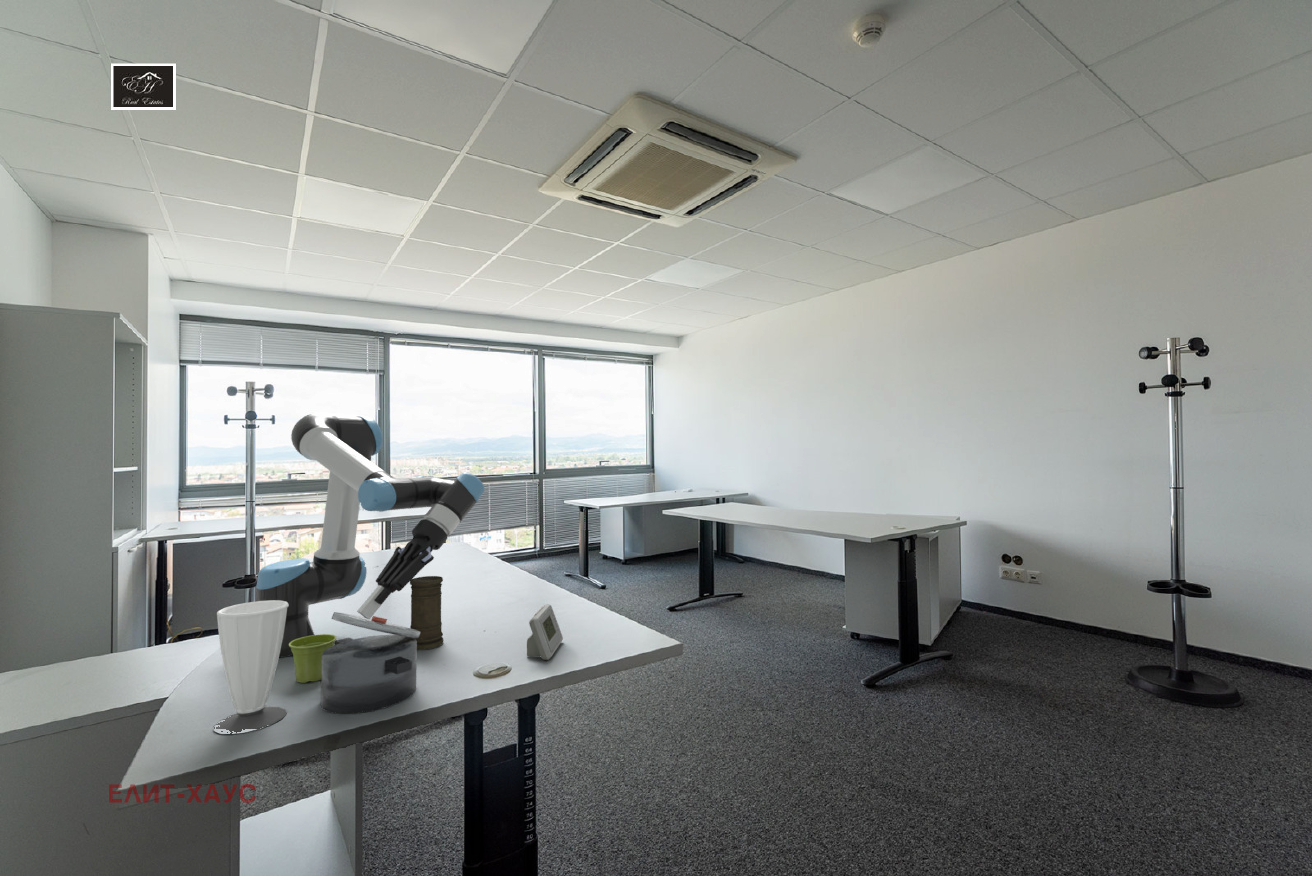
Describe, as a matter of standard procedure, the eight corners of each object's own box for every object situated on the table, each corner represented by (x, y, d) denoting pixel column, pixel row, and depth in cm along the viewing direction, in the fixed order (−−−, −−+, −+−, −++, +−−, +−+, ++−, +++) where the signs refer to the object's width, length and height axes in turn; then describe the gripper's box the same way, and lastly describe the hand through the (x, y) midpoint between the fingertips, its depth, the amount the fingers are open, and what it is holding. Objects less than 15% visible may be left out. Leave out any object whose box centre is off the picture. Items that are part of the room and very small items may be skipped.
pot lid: (316, 613, 118) (321, 603, 119) (391, 628, 131) (395, 619, 131) (356, 627, 107) (361, 615, 108) (434, 642, 120) (438, 631, 121)
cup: (263, 733, 101) (266, 613, 102) (196, 736, 100) (200, 615, 101) (299, 706, 112) (301, 599, 113) (239, 709, 111) (242, 600, 112)
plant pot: (345, 673, 130) (345, 636, 131) (308, 688, 121) (309, 648, 122) (315, 669, 133) (316, 632, 134) (277, 683, 124) (278, 644, 125)
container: (433, 650, 146) (434, 582, 147) (401, 650, 147) (402, 581, 148) (449, 640, 155) (450, 575, 156) (418, 639, 156) (419, 575, 157)
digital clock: (548, 663, 135) (548, 619, 136) (514, 660, 138) (514, 617, 138) (573, 642, 151) (573, 603, 152) (543, 640, 153) (543, 602, 154)
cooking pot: (296, 694, 118) (297, 647, 119) (380, 669, 133) (381, 627, 133) (357, 728, 102) (358, 673, 103) (444, 695, 117) (445, 647, 117)
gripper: (461, 539, 129) (391, 630, 114) (430, 536, 136) (360, 620, 122) (441, 518, 125) (365, 609, 110) (409, 516, 132) (335, 601, 118)
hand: (363, 615), depth 116 cm, fingers closed
